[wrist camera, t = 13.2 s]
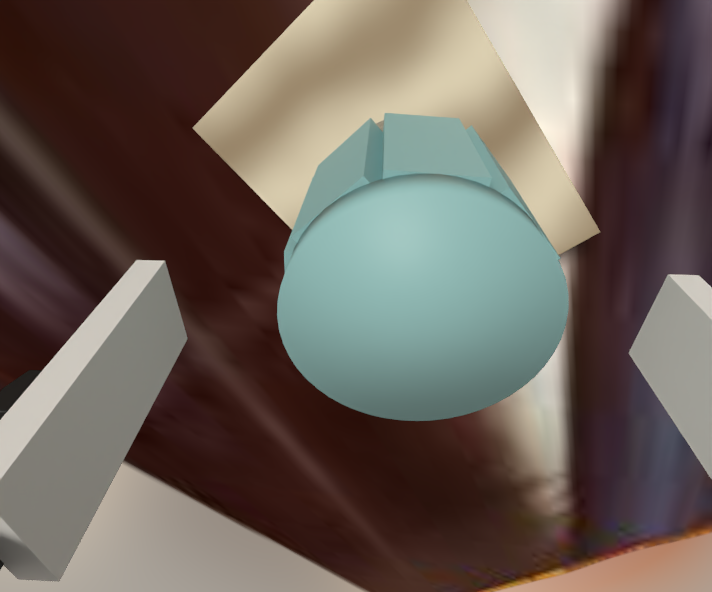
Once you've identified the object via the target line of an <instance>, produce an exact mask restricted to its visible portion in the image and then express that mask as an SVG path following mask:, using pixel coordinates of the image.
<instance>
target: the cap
mask: <svg viewBox="0 0 712 592" xmlns="http://www.w3.org/2000/svg"><path fill="white" fill-rule="evenodd" d="M559 259H561V258H560V257H559V255H558V254H557V252H556V250H555V249H554V247H553V246H552V244H551V243H550V241H549V239H548V238H547V236H546V235H545V233H544V232H543V230H542V228H541V227H540V225H539V224H538V222H537V221H536V219H535V217H534V216H533V214H532V213H531V211H530V210H529V208H528V206H527V205H526V203H525V202H524V200H523V199H522V197H521V195H520V194H519V192H518V191H517V189H516V188H515V186H514V184H513V183H512V181H511V180H510V178H509V177H508V176H507V174H506V173H505V171H504V170H503V169H502V167H501V166H500V164H499V163H498V162H497V160H496V159H495V157H494V156H493V154H492V153H491V152H490V150H489V149H488V147H487V146H486V145H485V143H484V142H483V140H482V139H481V138H480V136H479V135H478V133H477V132H476V131H475V129H474V128H473V126H472V125H471V126H470V127H469V128H467V129H466V130H465V128H464V126H463V124H462V122H461V121H460V119H459V118H447V117H434V116H421V115H407V114H394V113H385V114H384V125H383V132H382V131H381V130H380V128H379V127H378V126H377V125H376V123H375V122H374V121H373V120H372V119H371V118H370V119H369V120H368V121H366V122H365V123H364V124H363V125H362V126H361V127H360V128H359V129H358V130H357V131H355V132H354V133H353V134H352V135H351V136H350V137H349V138H348V139H347V140H346V141H344V142H343V143H342V144H341V145H340V146H339V147H338V148H337V149H336V150H334V151H333V152H332V153H331V154H330V155H329V156H328V157H327V158H326V159H325V160H323V161H322V162H321V163H320V164H319V165H318V167H317V170H316V172H315V175H314V177H313V178H312V181H311V183H310V186H309V189H308V191H307V194H306V196H305V199H304V202H303V204H302V207H301V209H300V212H299V214H298V217H297V220H296V222H295V225H294V227H293V230H292V233H291V235H290V238H289V240H288V243H287V245H286V248H285V251H284V265H285V275H284V278H283V281H282V283H281V286H280V291H279V297H278V305H277V318H278V325H279V331H280V335H281V338H282V341H283V344H284V346H285V349H286V351H287V353H288V355H289V357H290V358H291V360H292V361H293V363H294V364H295V366H296V367H297V369H298V370H299V371H300V372H301V373H302V374H303V376H304V377H305V378H306V379H307V380H308V381H309V382H310V383H312V384H313V385H314V386H315V387H316V388H317V389H318V390H320V391H321V392H323V393H324V394H326V395H327V396H328V397H330V398H332V399H334V400H335V401H337V402H339V403H341V404H343V405H345V406H347V407H350V408H352V409H354V410H357V411H360V412H363V413H366V414H369V415H373V416H378V417H382V418H387V419H395V420H406V421H428V420H439V419H447V418H452V417H457V416H461V415H466V414H469V413H472V412H475V411H478V410H481V409H484V408H486V407H488V406H491V405H493V404H495V403H497V402H499V401H501V400H503V399H505V398H507V397H508V396H510V395H511V394H513V393H514V392H516V391H517V390H519V389H520V388H522V387H523V386H524V385H525V384H527V383H528V382H529V381H530V380H531V379H532V378H534V377H535V376H536V374H537V373H538V372H539V371H540V370H541V369H542V368H543V367H544V366H545V365H546V363H547V362H548V360H549V359H550V358H551V356H552V355H553V353H554V352H555V350H556V348H557V346H558V344H559V342H560V340H561V337H562V334H563V332H564V329H565V326H566V321H567V315H568V290H567V284H566V279H565V276H564V273H563V270H562V268H561V265H560V263H559V261H558V260H559Z"/></svg>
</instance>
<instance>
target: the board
mask: <svg viewBox="0 0 712 592" xmlns="http://www.w3.org/2000/svg"><path fill="white" fill-rule="evenodd" d="M385 113H394V114H407V115H421V116H434V117H447V118H459V119H460V121H461V122H462V124H463V126H464V128H465V130H466V129H467V128H469V127H470V126H471V125H472V126H473V128H474V129H475V131H476V132H477V133H478V135H479V136H480V138H481V139H482V140H483V142H484V143H485V145H486V146H487V147H488V149H489V150H490V152H491V153H492V154H493V156H494V157H495V159H496V160H497V162H498V163H499V164H500V166H501V167H502V169H503V170H504V171H505V173H506V174H507V176H508V177H509V178H510V180H511V181H512V183H513V184H514V186H515V188H516V189H517V191H518V192H519V194H520V195H521V197H522V199H523V200H524V202H525V203H526V205H527V206H528V208H529V210H530V211H531V213H532V214H533V216H534V217H535V219H536V221H537V222H538V224H539V225H540V227H541V228H542V230H543V232H544V233H545V235H546V236H547V238H548V239H549V241H550V243H551V244H552V246H553V247H554V249H555V250H556V252H557V254H558V255H560V254H562V253H563V252H565V251H567V250H569V249H571V248H572V247H574V246H576V245H578V244H579V243H581V242H583V241H585V240H587V239H588V238H590V237H592V236H594V235H596V234H597V233H599V232H600V231H599V229H598V227H597V226H596V224H595V222H594V220H593V219H592V217H591V215H590V213H589V212H588V210H587V208H586V206H585V205H584V203H583V201H582V200H581V198H580V196H579V194H578V193H577V191H576V189H575V187H574V186H573V184H572V182H571V180H570V179H569V177H568V175H567V173H566V172H565V170H564V168H563V167H562V165H561V163H560V161H559V160H558V158H557V156H556V154H555V153H554V151H553V149H552V147H551V146H550V144H549V142H548V141H547V139H546V137H545V135H544V134H543V132H542V130H541V128H540V127H539V125H538V123H537V121H536V120H535V118H534V116H533V114H532V113H531V111H530V109H529V108H528V106H527V104H526V102H525V101H524V99H523V97H522V95H521V94H520V92H519V90H518V88H517V87H516V85H515V83H514V82H513V80H512V78H511V76H510V75H509V73H508V71H507V69H506V68H505V66H504V64H503V62H502V61H501V59H500V57H499V55H498V54H497V52H496V50H495V49H494V47H493V45H492V43H491V42H490V40H489V38H488V36H487V35H486V33H485V31H484V29H483V28H482V26H481V24H480V23H479V21H478V19H477V17H476V16H475V14H474V12H473V10H472V9H471V7H470V5H469V3H468V2H467V0H314V1H313V2H312V3H311V4H310V5H309V6H308V7H307V8H306V9H305V10H304V11H303V12H302V13H301V15H300V16H299V17H298V18H297V19H296V20H295V21H294V22H293V23H292V24H291V25H290V26H289V27H288V28H287V29H286V30H285V31H284V32H283V33H282V34H281V36H280V37H279V38H278V39H277V40H276V41H275V42H274V43H273V44H272V45H271V46H270V47H269V48H268V49H267V50H266V51H265V52H264V53H263V54H262V56H261V57H260V58H259V59H258V60H257V61H256V62H255V63H254V64H253V65H252V66H251V67H250V68H249V69H248V70H247V71H246V72H245V73H244V74H243V75H242V77H241V78H240V79H239V80H238V81H237V82H236V83H235V84H234V85H233V86H232V87H231V88H230V89H229V90H228V91H227V92H226V93H225V94H224V95H223V97H222V98H221V99H220V100H219V101H218V102H217V103H216V104H215V105H214V106H213V107H212V108H211V109H210V110H209V111H208V112H207V113H206V114H205V115H204V116H203V118H202V119H201V120H200V121H199V122H198V123H197V124H196V125H195V126H194V127H193V129H194V130H195V131H196V132H197V133H198V134H199V135H200V136H201V137H202V138H203V139H204V140H205V141H206V142H207V143H208V144H209V145H210V146H211V147H212V148H213V149H214V151H215V152H216V153H217V154H218V155H219V156H220V157H221V158H222V159H223V160H224V161H225V162H226V163H227V164H228V165H229V166H230V167H231V168H232V169H233V170H234V171H235V172H236V173H237V174H238V175H239V176H240V177H241V178H242V179H243V180H244V181H245V182H246V183H247V184H248V185H249V186H250V187H251V188H252V189H253V190H254V191H255V192H256V193H257V194H258V195H259V196H260V198H261V199H262V200H263V201H264V202H265V203H266V204H267V205H268V206H269V207H270V208H271V209H272V210H273V211H274V212H275V213H276V214H277V215H278V216H279V217H280V218H281V219H282V220H283V221H284V222H285V223H286V224H287V225H288V226H289V227H290V228H291V229H292V230H293V227H294V225H295V222H296V220H297V217H298V214H299V212H300V209H301V207H302V204H303V202H304V199H305V196H306V194H307V191H308V189H309V186H310V183H311V181H312V178H313V177H314V175H315V172H316V170H317V167H318V165H319V164H320V163H321V162H322V161H323V160H325V159H326V158H327V157H328V156H329V155H330V154H331V153H332V152H333V151H334V150H336V149H337V148H338V147H339V146H340V145H341V144H342V143H343V142H344V141H346V140H347V139H348V138H349V137H350V136H351V135H352V134H353V133H354V132H355V131H357V130H358V129H359V128H360V127H361V126H362V125H363V124H364V123H365V122H366V121H368V120H369V119H370V118H371V119H372V120H373V121H374V122H375V123H378V122H380V121H383V120H384V114H385Z"/></svg>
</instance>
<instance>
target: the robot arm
mask: <svg viewBox="0 0 712 592" xmlns="http://www.w3.org/2000/svg"><path fill="white" fill-rule="evenodd" d="M187 339H188V338H187V335H186V331H185V328H184V324H183V321H182V318H181V314H180V311H179V307H178V304H177V300H176V297H175V294H174V290H173V287H172V283H171V280H170V276H169V273H168V270H167V266H166V263H165V261H154V260H136V261H135V263H134V264H133V265H132V266H131V267H130V268H129V270H128V271H127V272H126V273H125V274H124V275H123V277H122V278H121V279H120V280H119V281H118V283H117V284H116V285H115V286H114V287H113V288H112V290H111V291H110V292H109V293H108V294H107V295H106V297H105V298H104V299H103V300H102V301H101V302H100V304H99V305H98V306H97V307H96V308H95V309H94V311H93V312H92V313H91V314H90V315H89V317H88V318H87V319H86V320H85V321H84V322H83V324H82V325H81V326H80V327H79V328H78V329H77V331H76V332H75V333H74V334H73V335H72V336H71V338H70V339H69V340H68V341H67V342H66V343H65V345H64V346H63V347H62V348H61V349H60V350H59V352H58V353H57V354H56V355H55V356H54V358H53V359H52V360H51V361H50V362H49V363H48V365H47V366H46V367H45V368H44V369H43V370H42V371H38V370H29V371H27V372H26V373H25V374H23V375H22V376H20V377H19V378H17V379H16V380H14V381H13V382H11V383H10V384H9V385H7V386H6V387H4V388H3V389H2V390H1V391H0V569H1V567H2V566H3V565H4V566H5V567H6V568H7V569H8V570H9V571H10V572H11V573H12V574H13V575H14V576H15V577H16V578H17V579H23V580H41V581H60V579H61V577H62V575H63V573H64V571H65V570H66V568H67V566H68V564H69V562H70V560H71V558H72V556H73V554H74V552H75V551H76V549H77V546H78V545H79V543H80V541H81V539H82V537H83V535H84V534H85V532H86V530H87V528H88V526H89V524H90V522H91V520H92V518H93V517H94V515H95V513H96V511H97V509H98V507H99V505H100V503H101V501H102V499H103V498H104V496H105V494H106V492H107V490H108V488H109V486H110V484H111V483H112V481H113V479H114V477H115V475H116V473H117V471H118V469H119V467H120V465H121V464H122V462H123V460H124V458H125V456H126V454H127V452H128V450H129V449H130V447H131V445H132V443H133V441H134V439H135V437H136V435H137V433H138V432H139V430H140V428H141V426H142V424H143V422H144V420H145V418H146V416H147V414H148V413H149V411H150V409H151V407H152V405H153V403H154V401H155V399H156V397H157V396H158V394H159V392H160V390H161V388H162V386H163V384H164V382H165V380H166V379H167V377H168V375H169V373H170V371H171V369H172V367H173V365H174V363H175V362H176V360H177V358H178V356H179V354H180V352H181V350H182V348H183V346H184V344H185V343H186V341H187ZM629 355H630V356H631V358H632V359H633V361H634V362H635V364H636V365H637V367H638V368H639V370H640V371H641V373H642V374H643V376H644V377H645V379H646V380H647V382H648V383H649V385H650V386H651V388H652V389H653V391H654V393H655V394H656V396H657V397H658V399H659V400H660V402H661V403H662V405H663V406H664V408H665V409H666V411H667V412H668V414H669V415H670V417H671V418H672V420H673V421H674V423H675V424H676V426H677V427H678V429H679V431H680V432H681V434H682V435H683V437H684V438H685V440H686V441H687V443H688V444H689V446H690V447H691V449H692V450H693V452H694V453H695V455H696V456H697V458H698V459H699V461H700V462H701V464H702V465H703V467H704V469H705V470H706V472H707V473H708V475H709V476H710V478H711V479H712V288H711V287H710V286H709V285H708V284H707V283H706V282H705V281H704V280H703V279H702V278H701V277H700V276H699V275H668V276H667V278H666V280H665V282H664V284H663V286H662V288H661V290H660V292H659V294H658V295H657V297H656V299H655V301H654V303H653V305H652V307H651V309H650V311H649V313H648V315H647V317H646V319H645V321H644V323H643V325H642V327H641V329H640V331H639V333H638V335H637V337H636V339H635V341H634V343H633V345H632V347H631V349H630V351H629Z"/></svg>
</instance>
